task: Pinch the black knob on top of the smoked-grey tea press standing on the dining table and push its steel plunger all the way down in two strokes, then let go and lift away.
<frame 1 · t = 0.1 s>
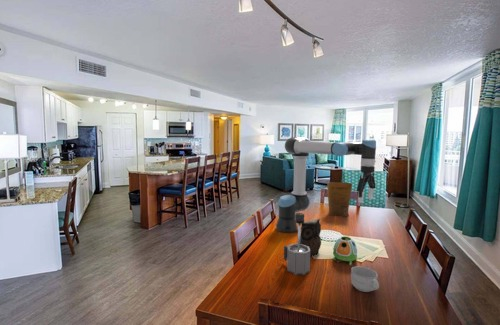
hand: (365, 200, 164), 28 cm above the table, fingers open, 13 cm apart
pancake mix bag: (338, 215, 228), on the table
owl: (307, 252, 157), on the table
press carafe: (298, 269, 138), on the table
plunger: (299, 233, 136), point 19 cm above the table, slide at 0.0 cm
turtle holder: (344, 258, 150), on the table
teacup: (365, 290, 120), on the table
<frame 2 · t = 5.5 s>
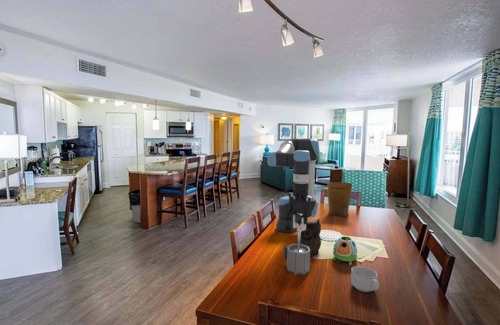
hand: (299, 228, 135), 21 cm above the table, fingers closed on plunger, 4 cm apart
plunger: (299, 233, 136), point 19 cm above the table, slide at 0.0 cm, touching gripper
everything else where it was.
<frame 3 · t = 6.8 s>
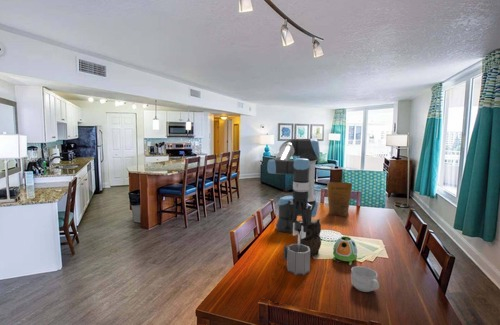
hand: (299, 236, 136), 17 cm above the table, fingers closed on plunger, 4 cm apart
plunger: (299, 240, 136), point 15 cm above the table, slide at 3.9 cm, touching gripper
everything else where it was.
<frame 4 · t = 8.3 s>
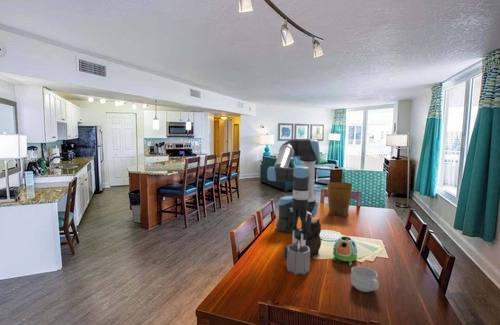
hand: (298, 243, 136), 13 cm above the table, fingers closed on plunger, 4 cm apart
plunger: (298, 248, 137), point 11 cm above the table, slide at 7.9 cm, touching gripper
everything else where it was.
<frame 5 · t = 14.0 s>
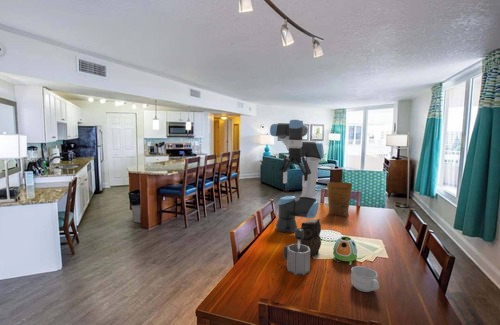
hand: (294, 184, 156), 39 cm above the table, fingers open, 13 cm apart
plunger: (298, 248, 137), point 11 cm above the table, slide at 7.9 cm
everything else where it was.
at the end: plunger slide at 7.9 cm; the gripper is holding nothing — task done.
